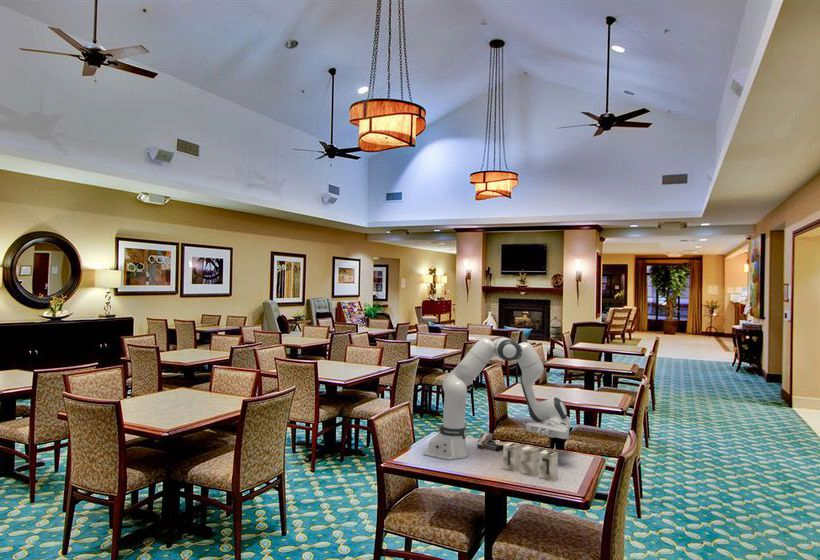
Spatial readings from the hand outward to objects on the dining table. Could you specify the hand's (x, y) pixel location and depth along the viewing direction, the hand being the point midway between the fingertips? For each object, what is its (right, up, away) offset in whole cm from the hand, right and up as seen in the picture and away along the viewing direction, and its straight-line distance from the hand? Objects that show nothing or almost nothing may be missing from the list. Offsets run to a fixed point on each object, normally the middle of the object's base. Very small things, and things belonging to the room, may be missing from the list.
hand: (540, 433), depth 245 cm
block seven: (0, -15, -16) cm, 22 cm away
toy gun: (-17, -17, +37) cm, 44 cm away
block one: (-14, -15, -4) cm, 21 cm away
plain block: (-7, -15, -10) cm, 20 cm away
